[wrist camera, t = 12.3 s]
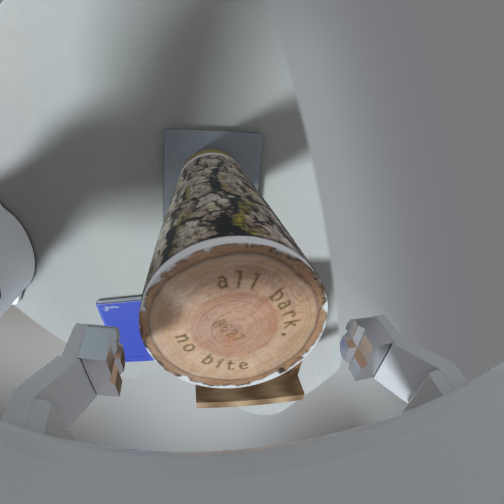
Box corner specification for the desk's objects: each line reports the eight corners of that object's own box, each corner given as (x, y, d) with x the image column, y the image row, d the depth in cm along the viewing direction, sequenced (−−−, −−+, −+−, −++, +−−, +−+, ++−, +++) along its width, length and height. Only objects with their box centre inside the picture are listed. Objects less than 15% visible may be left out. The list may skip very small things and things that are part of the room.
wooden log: (215, 136, 30) (255, 194, 8) (252, 181, 33) (355, 326, 11) (168, 175, 31) (100, 324, 9) (206, 217, 34) (225, 405, 12)
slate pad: (164, 219, 34) (163, 222, 33) (166, 129, 29) (165, 129, 28) (252, 221, 36) (254, 224, 35) (262, 133, 31) (263, 134, 30)
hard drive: (95, 304, 36) (121, 362, 42) (146, 299, 37) (166, 359, 43) (97, 298, 38) (122, 355, 44) (147, 293, 39) (167, 353, 45)
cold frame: (194, 359, 45) (196, 407, 37) (192, 279, 38) (191, 328, 30) (286, 355, 48) (302, 399, 40) (304, 279, 41) (330, 322, 33)
